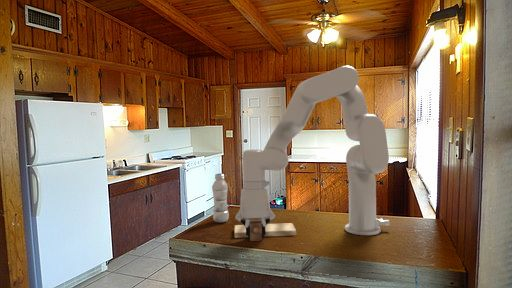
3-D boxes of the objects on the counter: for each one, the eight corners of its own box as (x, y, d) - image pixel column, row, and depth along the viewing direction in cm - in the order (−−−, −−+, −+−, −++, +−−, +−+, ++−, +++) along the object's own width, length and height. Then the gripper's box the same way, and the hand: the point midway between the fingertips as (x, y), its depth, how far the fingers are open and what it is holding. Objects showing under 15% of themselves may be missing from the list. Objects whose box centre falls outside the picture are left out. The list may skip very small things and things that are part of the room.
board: (292, 227, 126) (292, 223, 126) (296, 235, 117) (296, 230, 117) (235, 229, 125) (234, 225, 125) (234, 237, 116) (234, 232, 116)
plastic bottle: (232, 221, 137) (231, 173, 136) (220, 225, 132) (218, 175, 131) (222, 218, 141) (220, 172, 140) (209, 222, 136) (208, 174, 135)
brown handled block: (259, 229, 125) (259, 213, 125) (262, 241, 112) (261, 223, 111) (249, 229, 125) (248, 214, 124) (250, 241, 111) (249, 224, 111)
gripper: (277, 182, 117) (278, 233, 118) (230, 184, 117) (232, 234, 118) (279, 186, 110) (281, 240, 111) (229, 188, 109) (231, 242, 110)
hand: (255, 236), depth 114 cm, fingers closed on brown handled block, 4 cm apart
